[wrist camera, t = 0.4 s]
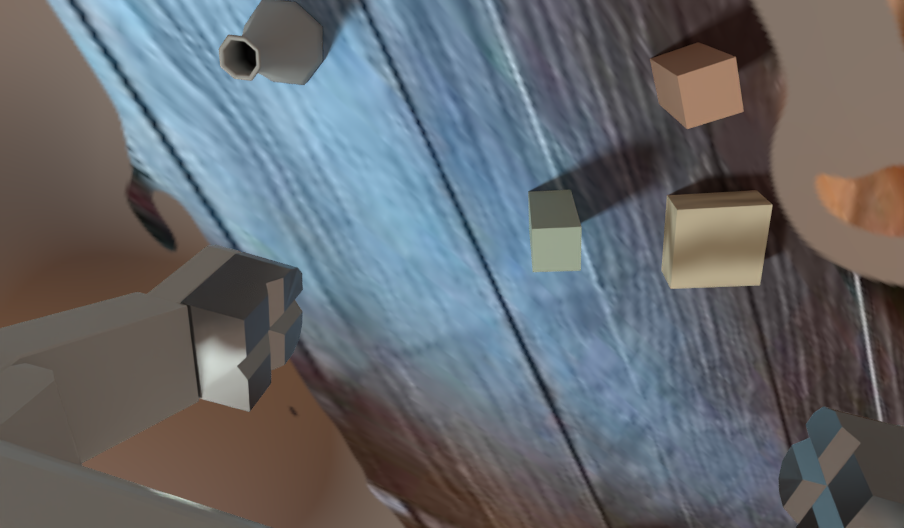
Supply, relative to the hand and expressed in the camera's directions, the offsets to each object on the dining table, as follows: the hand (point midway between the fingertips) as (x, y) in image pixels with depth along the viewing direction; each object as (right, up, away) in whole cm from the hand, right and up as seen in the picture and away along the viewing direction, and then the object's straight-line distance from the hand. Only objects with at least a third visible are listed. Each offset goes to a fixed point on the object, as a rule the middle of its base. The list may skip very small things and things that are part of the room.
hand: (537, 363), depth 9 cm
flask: (-16, +21, +43) cm, 50 cm away
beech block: (+23, +5, +47) cm, 53 cm away
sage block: (+8, +7, +47) cm, 49 cm away
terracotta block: (+18, +18, +41) cm, 48 cm away
